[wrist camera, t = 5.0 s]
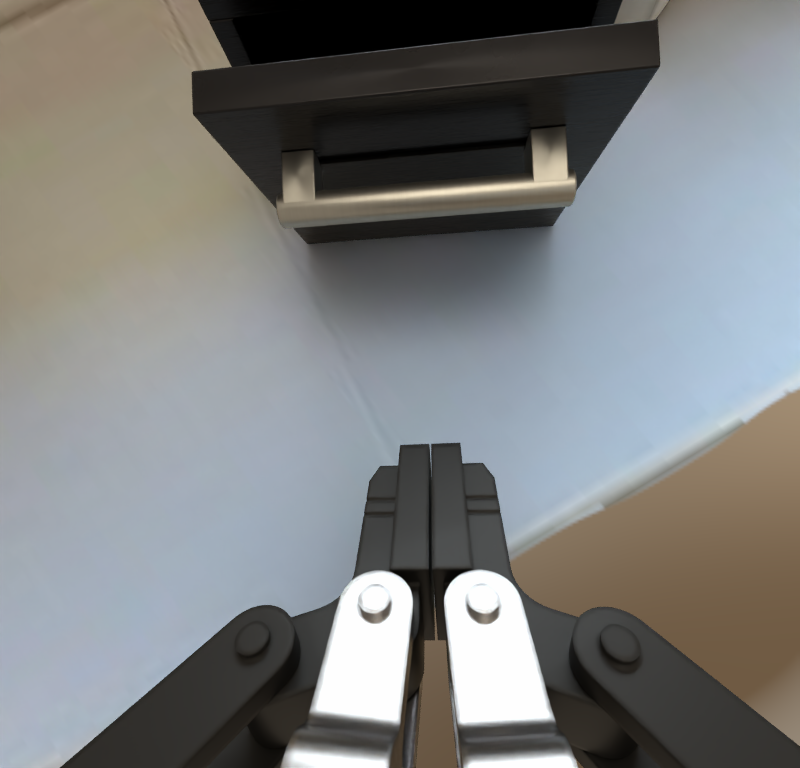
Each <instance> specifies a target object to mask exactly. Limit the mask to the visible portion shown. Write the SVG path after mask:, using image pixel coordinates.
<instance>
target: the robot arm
mask: <svg viewBox="0 0 800 768" xmlns="http://www.w3.org/2000/svg"><path fill="white" fill-rule="evenodd" d="M431 460H432V477H431V462H430V448H429V444H414V445H400V452H399V464H398V466H380V467H379V468H378V470H377V471H376V473H375V474H374V475H373V477H372V478H371V480H370V481H369V487H368V493H367V502H366V505H365V511H364V517H363V524H362V530H361V536H360V542H359V548H358V554H357V561H356V567H355V572H354V576H353V578H352V581H351V582H350V583H349V584H348V585H347V586H346V587H345V589H344V590H343V592H342V594H341V595H340V596H339V597H338V598H337V599H336V600H334V601H333V602H332V603H330V604H328V605H326V606H324V607H321V608H319V609H316V610H313V611H310V612H307V613H304V614H301V615H298V616H295V617H292V618H291V617H290V616H289V615H288V613H287V612H285V611H284V610H283V609H281V608H279V607H276V606H272V605H262V606H257V607H253V608H250V609H248V610H246V611H244V612H242V613H241V614H239V615H238V616H236V617H235V618H234V619H233V620H231V621H230V622H229V623H228V624H227V625H226V626H225V627H223V628H222V629H221V630H220V631H219V632H218V633H216V634H215V635H214V636H213V637H212V638H211V639H209V640H208V641H207V642H206V643H205V644H204V645H202V646H201V647H200V648H199V649H198V650H197V651H195V652H194V653H193V654H192V655H191V656H190V657H188V658H187V659H186V660H185V661H184V662H183V663H181V664H180V665H179V666H178V667H177V668H176V669H174V670H173V671H172V672H171V673H170V674H169V675H167V676H166V677H165V678H164V679H163V680H162V681H160V682H159V683H158V684H157V685H156V686H155V687H153V688H152V689H151V690H150V691H149V692H148V693H146V694H145V695H144V696H143V697H142V698H141V699H139V700H138V701H137V702H136V703H135V704H134V705H133V706H131V707H130V708H129V709H128V710H127V711H126V712H124V713H123V714H122V715H121V716H120V717H119V718H117V719H116V720H115V721H114V722H113V723H112V724H110V725H109V726H108V727H107V728H106V729H105V730H103V731H102V732H101V733H100V734H99V735H98V736H96V737H95V738H94V739H93V740H92V741H91V742H89V743H88V744H87V745H86V746H85V747H84V748H82V749H81V750H80V751H79V752H78V753H77V754H75V755H74V756H73V757H72V758H71V759H70V760H68V761H67V762H66V763H65V764H64V765H63V766H61V767H60V768H416V757H417V745H418V732H419V720H420V707H421V694H422V678H423V674H424V640H435V626H434V625H435V622H434V595H435V608H436V621H437V634H438V640H446V645H447V661H448V676H449V677H448V678H449V690H450V699H451V710H452V719H453V729H454V738H455V748H456V757H457V767H458V768H578V766H577V763H576V760H575V758H576V759H577V761H578V762H579V763H580V764H581V765H582V766H583V767H584V768H800V746H799V745H797V744H796V743H795V742H794V741H792V740H791V739H790V738H788V737H787V736H786V735H785V734H784V733H782V732H781V731H780V730H778V729H777V728H776V727H775V726H773V725H772V724H771V723H769V722H768V721H767V720H766V719H765V718H763V717H762V716H761V715H760V714H758V713H757V712H756V711H754V710H753V709H752V708H751V707H749V706H748V705H747V704H746V703H745V702H743V701H742V700H741V699H739V698H738V697H737V696H736V695H734V694H733V693H732V692H731V691H729V690H728V689H727V688H726V687H724V686H723V685H721V683H719V682H718V681H717V680H715V679H714V678H713V677H712V676H710V675H709V674H708V673H707V672H705V671H704V670H703V669H702V668H700V667H699V666H698V665H697V664H695V663H694V662H693V661H692V660H690V659H689V658H688V657H687V656H685V655H684V654H683V653H682V652H680V651H679V650H678V649H677V648H675V647H674V646H673V645H671V644H670V643H669V642H668V641H667V640H665V639H664V638H663V637H662V636H660V635H659V634H658V633H656V632H655V631H654V630H653V629H651V628H650V627H649V626H648V625H646V624H645V623H644V622H642V621H641V620H640V619H638V618H637V617H635V616H633V615H632V614H630V613H628V612H625V611H622V610H620V609H616V608H612V607H597V608H592V609H590V610H588V611H586V612H584V613H583V614H582V615H581V616H580V617H576V616H573V615H569V614H566V613H563V612H560V611H557V610H553V609H550V608H548V607H545V606H543V605H541V604H539V603H537V602H535V601H534V600H532V599H531V598H530V597H529V596H528V595H526V594H525V593H524V592H523V591H522V589H521V588H520V587H519V586H518V584H517V583H516V581H515V579H514V577H513V575H512V571H511V567H510V561H509V556H508V550H507V545H506V539H505V534H504V528H503V523H502V517H501V513H500V506H499V501H498V497H497V490H496V484H495V479H494V477H493V475H492V474H491V473H490V472H489V470H488V469H487V468H486V466H485V465H484V464H483V463H466V464H462V455H461V445H460V443H440V444H431Z"/></svg>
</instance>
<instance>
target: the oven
mask: <svg viewBox="0 0 800 768" xmlns="http://www.w3.org/2000/svg"><path fill="white" fill-rule="evenodd" d="M198 1H199V3H200V5H201V7H202V9H203V11H204V13H205V15H206V17H207V19H208V20H209V22H210V24H211V26H212V28H213V30H214V32H215V34H216V36H217V38H218V40H219V42H220V44H221V46H222V48H223V50H224V52H225V54H226V56H227V58H228V60H229V62H230V64H231V66H232V67H237V66H246V65H255V64H264V63H273V62H282V61H291V60H299V59H308V58H317V57H326V56H335V55H344V54H353V53H361V52H370V51H379V50H388V49H397V48H406V47H415V46H423V45H432V44H441V43H450V42H459V41H468V40H477V39H485V38H494V37H503V36H512V35H521V34H530V33H539V32H547V31H556V30H565V29H574V28H583V27H592V26H600V25H609V24H614V23H615V20H616V17H617V15H618V12H619V9H620V6H621V4H622V1H623V0H198Z"/></svg>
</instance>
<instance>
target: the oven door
mask: <svg viewBox="0 0 800 768" xmlns="http://www.w3.org/2000/svg"><path fill="white" fill-rule="evenodd" d="M659 67H660V51H659V34H658V20H657V19H654V20H645V21H636V22H627V23H618V24H609V25H600V26H592V27H583V28H574V29H565V30H556V31H547V32H539V33H530V34H521V35H512V36H503V37H494V38H485V39H477V40H468V41H459V42H450V43H441V44H432V45H423V46H415V47H406V48H397V49H388V50H379V51H370V52H361V53H353V54H344V55H335V56H326V57H317V58H308V59H299V60H291V61H282V62H273V63H264V64H255V65H246V66H237V67H229V68H220V69H211V70H202V71H193V72H192V99H193V115H194V116H195V117H196V118H197V119H198V121H199V122H200V123H201V124H202V125H203V126H204V127H205V129H206V130H207V131H208V132H209V133H210V134H211V135H212V136H213V138H214V139H215V140H216V141H217V142H218V143H219V144H220V146H221V147H222V148H223V149H224V150H225V151H226V152H227V153H228V155H229V156H230V157H231V158H232V159H233V160H234V161H235V162H236V164H237V165H238V166H239V167H240V168H241V169H242V170H243V172H244V173H245V174H246V175H247V176H248V177H249V178H250V179H251V181H252V182H253V183H254V184H255V185H256V186H257V187H258V189H259V190H260V191H261V192H262V193H263V194H264V195H265V196H266V198H267V199H268V200H269V201H270V202H271V203H272V204H273V206H274V207H275V208H276V209H277V215H278V219H279V221H280V224H281V226H282V227H283V228H285V229H288V228H294V229H295V230H296V232H297V233H298V234H299V235H300V236H301V237H302V238H303V240H304V241H305V242H306V243H307V244H313V243H326V242H339V241H353V240H366V239H380V238H393V237H406V236H420V235H433V234H446V233H460V232H473V231H487V230H500V229H513V228H527V227H540V226H553V225H554V223H555V222H556V220H557V219H558V217H559V216H560V214H561V213H562V211H563V210H564V208H565V207H569V206H571V205H572V204H573V202H574V199H575V195H576V191H577V189H578V188H579V186H580V185H581V183H582V182H583V180H584V179H585V177H586V176H587V174H588V173H589V171H590V170H591V168H592V167H593V165H594V164H595V162H596V161H597V159H598V158H599V156H600V155H601V153H602V152H603V150H604V149H605V147H606V146H607V144H608V143H609V141H610V140H611V138H612V137H613V136H614V134H615V133H616V131H617V130H618V128H619V127H620V125H621V124H622V122H623V121H624V119H625V118H626V116H627V115H628V113H629V112H630V110H631V109H632V107H633V106H634V104H635V103H636V101H637V100H638V98H639V97H640V95H641V94H642V92H643V91H644V89H645V88H646V86H647V85H648V83H649V82H650V80H651V79H652V78H653V76H654V75H655V73H656V72H657V70H658V69H659Z"/></svg>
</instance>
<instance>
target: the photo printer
mask: <svg viewBox="0 0 800 768" xmlns="http://www.w3.org/2000/svg"><path fill="white" fill-rule="evenodd" d="M668 2H669V0H623V1H622V4H621V6H620V9H619V12H618V15H617V17H616V20H615V23H614V24H618V23H627V22H636V21H645V20H654V19H656V18H657V16H658V15H659V14H660V13H661V11H662V10H663V8H664V7H665V6H666V4H667V3H668Z"/></svg>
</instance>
